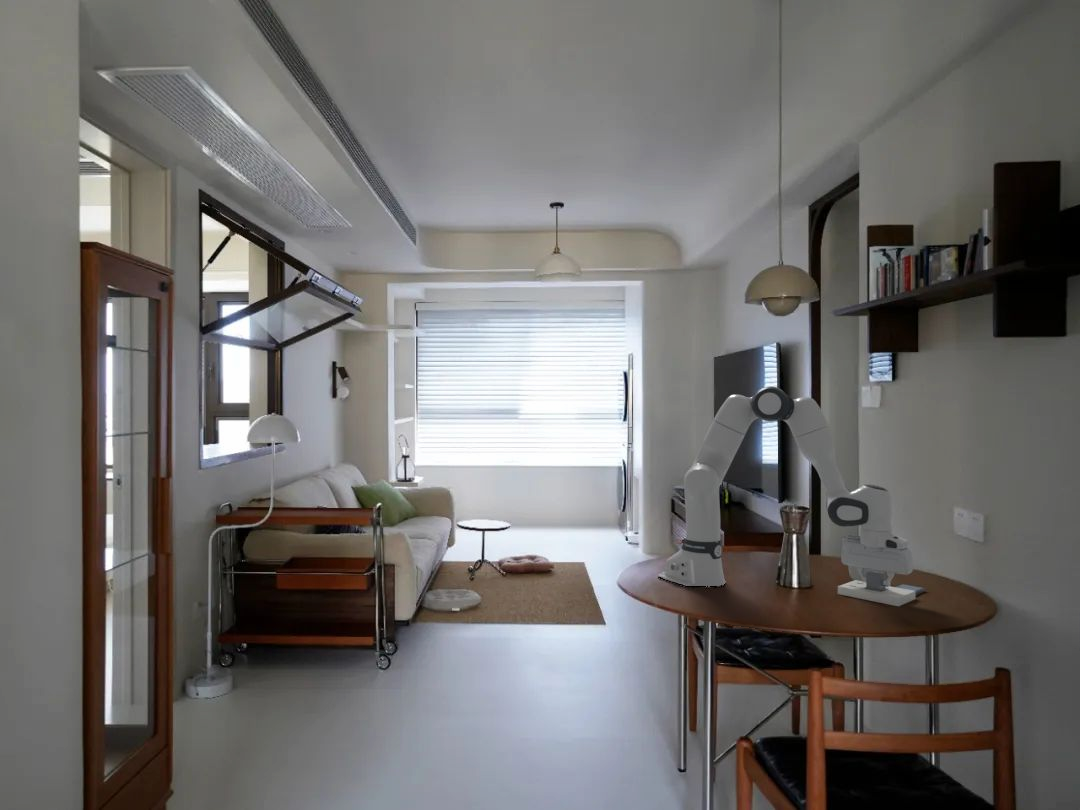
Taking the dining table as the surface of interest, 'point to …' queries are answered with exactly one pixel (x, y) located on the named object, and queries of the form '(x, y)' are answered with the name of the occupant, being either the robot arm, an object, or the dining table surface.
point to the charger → (875, 581)
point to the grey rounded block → (855, 574)
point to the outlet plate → (877, 593)
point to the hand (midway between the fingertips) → (875, 584)
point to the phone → (912, 588)
